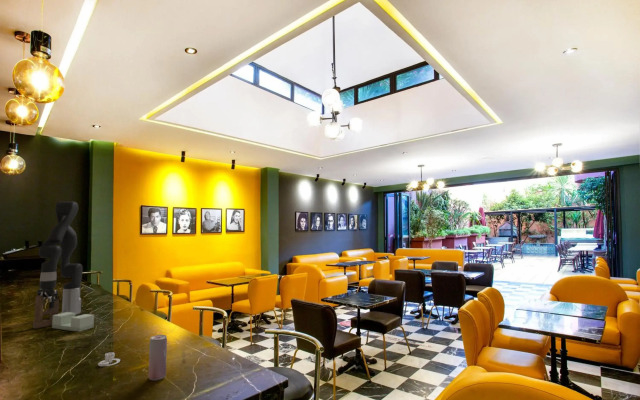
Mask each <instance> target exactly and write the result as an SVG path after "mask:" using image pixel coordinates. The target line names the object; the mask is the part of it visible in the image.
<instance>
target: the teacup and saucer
mask: <svg viewBox="0 0 640 400" xmlns="http://www.w3.org/2000/svg"><path fill="white" fill-rule="evenodd" d="M115 355H116V352H113V351H109V352H105V354H104V359H103V360H102V361H100V362H98V363H97V366H98V367H109V366H113V365H116V364H118V363H120V361H121V358H115ZM113 361H116V362H114V363H113Z"/></svg>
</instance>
